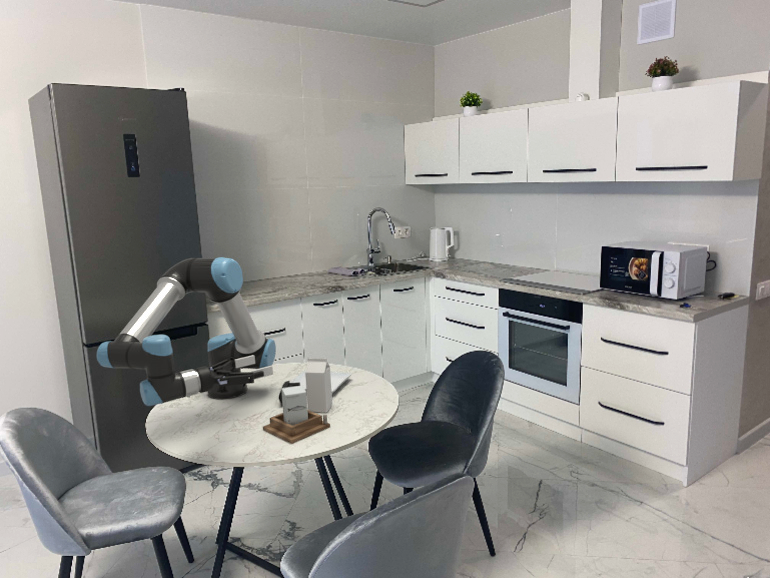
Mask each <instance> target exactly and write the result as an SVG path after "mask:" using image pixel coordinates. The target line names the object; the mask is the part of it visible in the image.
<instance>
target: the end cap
mask: <svg viewBox="0 0 770 578" xmlns="http://www.w3.org/2000/svg"><path fill="white" fill-rule="evenodd" d="M290 382H291V381H290V380H286V381H285V382H284V383H283V384H282V386H281V388H280V391H279V393H278V401H279V403H280V404H282V405H283V403H282V390H281V389H282V388H288V387H295V386H300V382H299V383H290Z"/></svg>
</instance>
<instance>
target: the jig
mask: <svg viewBox="0 0 770 578" xmlns="http://www.w3.org/2000/svg"><path fill="white" fill-rule="evenodd" d="M307 411H308V420H306V421H303V422H301V423H298V424H296V425H293V426H292V425H290V424H288V423H285V422H284V417H283V412H281V413H279V414H276V415H273V416H271V417H269V424H266V425H262V430H263V431H264V432H265V433H269V434H270V435H272V436H275V437H277V438H279V439H281V440H282V441H284V442H287V443H290V444H291V445H292V444H295V443H297V442H299V441H302V440H304V439H306V438H308V437H311V436H313V435H315V434H318V433H320V432H323V431H324V430H327V429H329V428H331V423H330V422H328V415H327V414H323V415H321V414H318V413H317V412H312V411H309V410H308V409H307Z"/></svg>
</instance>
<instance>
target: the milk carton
mask: <svg viewBox="0 0 770 578" xmlns="http://www.w3.org/2000/svg"><path fill="white" fill-rule="evenodd" d="M305 370H306V371H305ZM305 370H304V371H305V377H306V391H307V393H306V394H307V410H309V411H312V412H314V413H327V412H328V411H329V410H330V408H332V406H333V394H332V390H331V374H330V371H331V365H330V364H329V363H328V359H327V358H314V357H313V358H310V357H307V363H306V368H305Z"/></svg>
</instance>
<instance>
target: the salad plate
mask: <svg viewBox="0 0 770 578" xmlns="http://www.w3.org/2000/svg"><path fill="white" fill-rule="evenodd" d="M305 371H306V369H304V371H302V372H300V374H298V375H296V376H295V377H294V378H293V379H292V380H291V381H290V383H299V382H300V386H302V385H303V387H304V389H305V391H306V377H305ZM330 374H331V390H332V395H333V394H334V393H335V392H336V391H337V390H338V389H339V388H340V387H341V386H342V385H343V384H344V383H345V382H347V380H348V379H350V378H351V376H352V373H351V372H343V371H342V372H341V371H335V370H334V371H331V370H330ZM306 394H307V391H306Z"/></svg>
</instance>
